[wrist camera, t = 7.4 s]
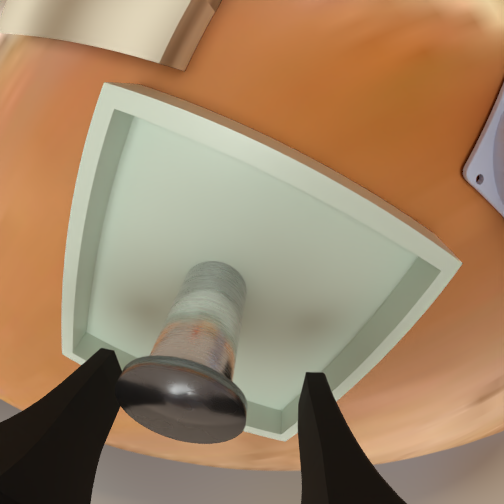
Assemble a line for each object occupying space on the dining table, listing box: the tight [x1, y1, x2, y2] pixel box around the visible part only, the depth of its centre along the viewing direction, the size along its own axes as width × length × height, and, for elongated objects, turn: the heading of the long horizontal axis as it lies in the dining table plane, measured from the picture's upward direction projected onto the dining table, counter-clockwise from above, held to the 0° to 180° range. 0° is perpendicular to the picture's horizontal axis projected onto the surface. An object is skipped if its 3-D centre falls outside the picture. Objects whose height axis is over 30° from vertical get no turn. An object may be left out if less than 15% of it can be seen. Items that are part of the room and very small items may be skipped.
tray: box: [62, 82, 463, 441], centre depth 14 cm, size 16×16×3 cm
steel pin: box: [115, 261, 248, 444], centre depth 11 cm, size 4×4×7 cm
